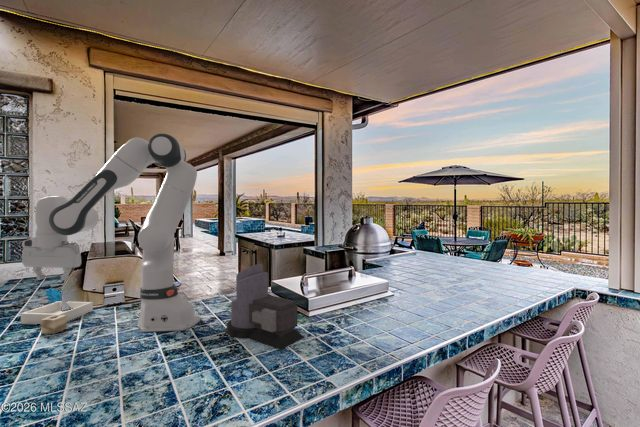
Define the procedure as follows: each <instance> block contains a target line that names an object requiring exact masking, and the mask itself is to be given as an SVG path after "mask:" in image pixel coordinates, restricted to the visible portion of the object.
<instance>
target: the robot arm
mask: <svg viewBox="0 0 640 427" xmlns="http://www.w3.org/2000/svg"><path fill="white" fill-rule="evenodd" d="M186 159H187V152H186V150H185V149H184V148H183V145H182V144H181V143H180V141H178V139H176V138H175V137H174V136H173V135H170V134H168V133H157V134H154V135H153V136H151V138H150V139H149V141H148V140H146V139H145V138H142V137H137V136H136V137H133V138H131V139H129V140H127V141H126V143H124V144H123V145H121V146H120V147H119V148H118V149H117V151H115V152H114V154H113V155H111V157H110V158H109V159H108V160H107V162H106V163H105V164H104V165H103V167H102V168H101V169H100V170H99V171H98V172H97V174H95V176H94V177H92V178H91V180H89V181H88V182H87V183H86V184H85V186H83V187H82V188H81V190H79V192H77V193H76V194H75V195H74V196H73V197H72V198H71V199H70V200H69V199H67V198H66V197H65V196H62V195H54V196H53V195H51V196H46V197H41V198H40V199H39V200H37V202H36V206H35V214H34V215H35V218H34V219H35V220H34V221H35V224H36V231H35V236H33V237H30V238H28V239H25V240H23V241H22V244H21V245H22V247H23V248H22V252H21V253H22V254H21V262H22V265H23V266H24V267H26V268H32V269H33V270H32V271H33V272H34V273H35V276H36V280H45V279H46V277H45V276H46V274H45V273H44V272H43V271H42V269H43V268H56V269H57V268H58V269H60V268H61V269H62V271H64V272H63V273H62V274H61V275H60V281H67V280H69V277H70V276H69V274H70V273H71V271H72V270H73V269H74V268H79V267H81V265H82V256H81V255H82V254H81V251H80V246H79V244H78V243H76V241H68V236H72V235H75V234H78V233H82V232H87V231H89V230H91V229H94V227H96V226H97V224H98V222H99V215H98V213H97V211H96V210H95V206H96V205H98V204H99V202H100V201H101V200H102V199H103V198H104V197H105V196H106V195H107V194H109V193H111V192H113V191H115V190H117V189H121V188H123V187H127V186H129V185H130V184H132V183H134V182H135V181H136V180H137V179H138V178H139V177H140V176H141V174H142V173H144V171H145V169H146V168H148V166H150V165H151V164H155V165H158V166H161V167H163V168H165V170H166V175H165V177H164V179H163V181H162V183H161V187H160V188H159V191H158V193H157V195H156V198H155V200H154V202H153V204H152V205H151V207H150V210H149V211H148V213H147V215H146V218H144V222H142V225H141V227H140V229H139V232H138V234H137V242H138V245H139V246H140V248H142V257H141V258H142V259H141V266H140V269H141V270H140V272H141V287H140V289H139V290H140V291H139V292H140V293H139V294H140V295H139V296H140V303H141V304H140V311H139V316H138V317H139V318H138V322H137V325H136V326H137V328H138V329H140V332H142V333H146V332H170V331H171V332H172V331H173V332H174V331H186V330H188V329H190V328H192V327H194V326H195V325H196V324H198V323H199V322H200V321H201V315H199V314H195V308H194V304H192V302H190V301H188V300H187V299H186V298H184V297H183V296H182V295H180V294H179V290H180V289H181V286H178V287H177V286H176V285H175V283H174V280H175V279H174V257H175V255H174V254H175V233H176V231H177V228H178V226H179V225H180V224H179V223H180V222H181V219H182V218H183V215H184V213H185V211H186V209H187V206H188V203H189V201H190V199H191V196H192V193H193V191H194V188H195V185H196V181H197V178H198V172H197V169H196V168H195V167H194V166H193V165H192V164H190V163H188V162H186Z"/></svg>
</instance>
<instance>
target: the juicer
mask: <svg viewBox="0 0 640 427" xmlns="http://www.w3.org/2000/svg"><path fill="white" fill-rule="evenodd" d="M235 279H236V280H235V282H236V283H235V284H236V285H235V290H236V292H235V293H236V298H235V299H232V300H231V302H230V319H229V320H228V321H227V322H226V323H227V325H226V326H227V327H225V328H224V329H223V331H222V332H224V333H226V334H228V336H230V337H232V338H236V339H249V340H252V341H254V342H257V343H260V344H263V345H265V346H269V347H270V348H274V349H276V350H280V351H282V350H284V349H285V348H288V347H289V346H292V345H293V344H295V343H297V342H298V341H300V340H302V339H304V338H305V336H304V335H302V334H301V333H300V332H299V331H298V330H297V329H296V327H295V326H297V325H298V304H297V300H293V299H288V298H284V297H278V296H275V295H271V294H269V273H268V272H267V271H265V272H264V265H263V263H257V264H254V265H252V266H249V267H246V268H244V269H243V270H241V271H240V272H238V273H237V274H236V276H235Z"/></svg>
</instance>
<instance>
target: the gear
mask: <svg viewBox="0 0 640 427" xmlns="http://www.w3.org/2000/svg"><path fill="white" fill-rule="evenodd" d="M61 291H62V290H59V291H58V289H57V288H51V287H50V288H48V289H47V290H45V294H44V295H45V297H47V300H50V301H49V302H48V303H47V305H48V304H51V303H54V302H57V301H61V294H62V293H61Z"/></svg>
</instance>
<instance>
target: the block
mask: <svg viewBox="0 0 640 427" xmlns="http://www.w3.org/2000/svg"><path fill="white" fill-rule="evenodd" d="M67 323H68V322H66V315H52V316H49V317H47V318H44V319H41V325H40V328H41V330H40V331H41V334H45V335H47V334H48V335H51V334H53V335H55V334H57V333H59V332H62V331H63V330H66V329H67V326H68V325H67Z"/></svg>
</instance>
